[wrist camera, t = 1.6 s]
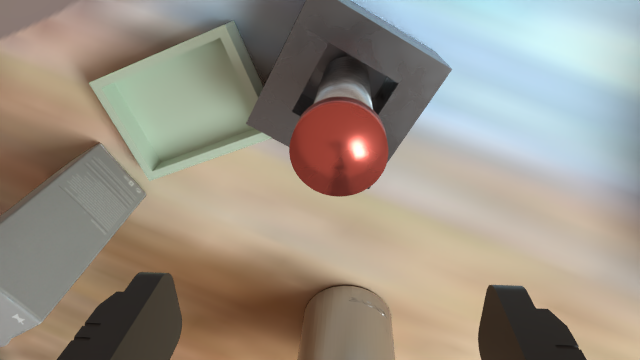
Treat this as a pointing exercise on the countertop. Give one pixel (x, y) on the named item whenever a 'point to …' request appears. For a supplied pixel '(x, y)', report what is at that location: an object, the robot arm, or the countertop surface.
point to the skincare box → (59, 235)
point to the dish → (185, 102)
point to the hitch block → (355, 41)
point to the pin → (340, 133)
